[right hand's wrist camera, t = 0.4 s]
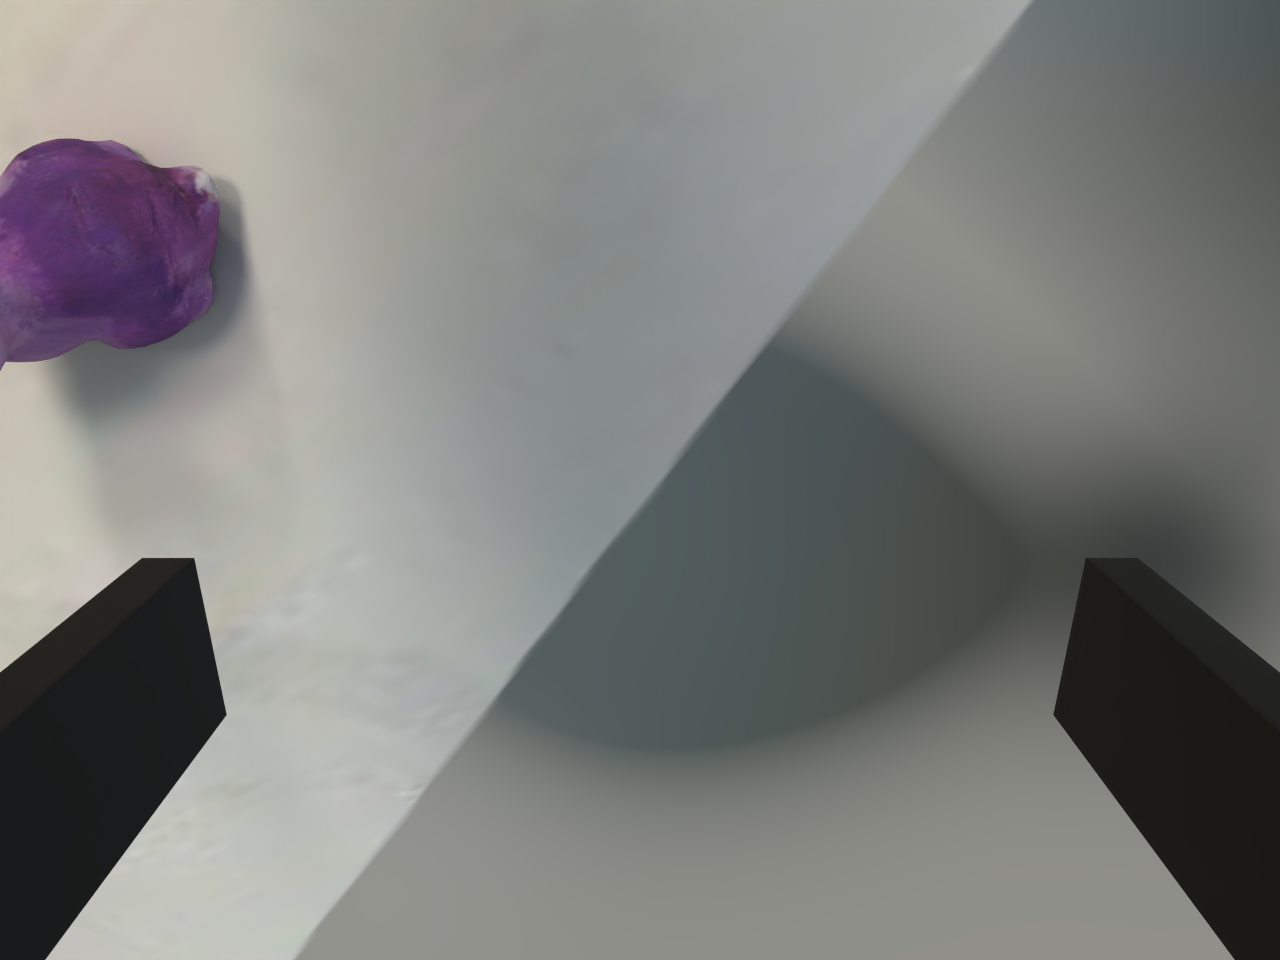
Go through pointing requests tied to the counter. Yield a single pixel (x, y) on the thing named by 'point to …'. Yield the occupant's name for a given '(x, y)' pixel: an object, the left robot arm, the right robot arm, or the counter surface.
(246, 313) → the counter surface
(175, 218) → the figurine
